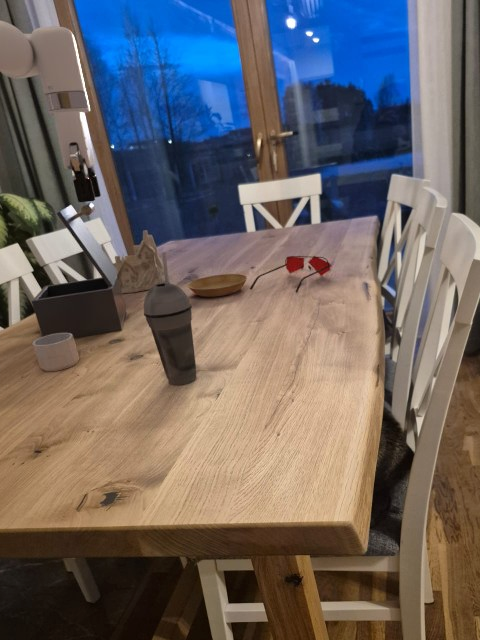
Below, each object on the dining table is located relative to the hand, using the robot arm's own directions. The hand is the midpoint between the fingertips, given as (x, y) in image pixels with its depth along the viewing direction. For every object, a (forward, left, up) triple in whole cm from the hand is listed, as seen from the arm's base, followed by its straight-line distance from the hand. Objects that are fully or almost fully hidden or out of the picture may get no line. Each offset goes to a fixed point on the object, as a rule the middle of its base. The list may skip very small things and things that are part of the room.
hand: (90, 199), depth 117 cm
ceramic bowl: (-9, -23, -26) cm, 36 cm away
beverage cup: (+13, -41, -26) cm, 50 cm away
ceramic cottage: (+3, +35, -26) cm, 44 cm away
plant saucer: (+23, +14, -26) cm, 37 cm away
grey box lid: (-3, 0, -9) cm, 9 cm away
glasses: (+41, +11, -26) cm, 50 cm away
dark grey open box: (-7, 0, -26) cm, 27 cm away
